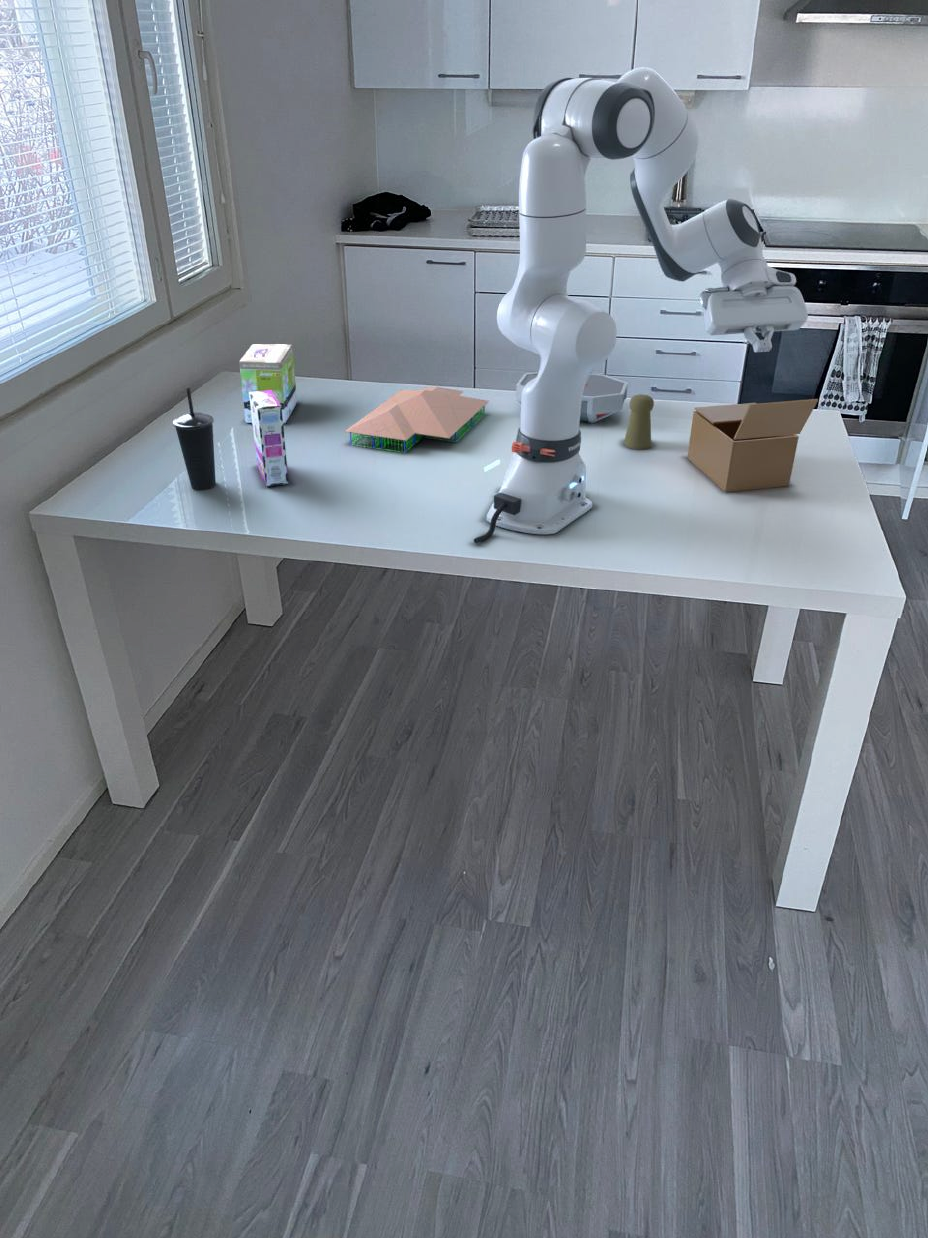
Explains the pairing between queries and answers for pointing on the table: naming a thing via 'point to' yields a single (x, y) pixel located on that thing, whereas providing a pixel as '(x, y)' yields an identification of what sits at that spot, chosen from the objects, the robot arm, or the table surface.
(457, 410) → the house
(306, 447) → the table surface
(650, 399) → the cork
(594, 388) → the first aid kit
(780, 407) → the flap
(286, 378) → the tea box
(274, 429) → the candy bar box
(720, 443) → the carton
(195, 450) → the drinking cup
